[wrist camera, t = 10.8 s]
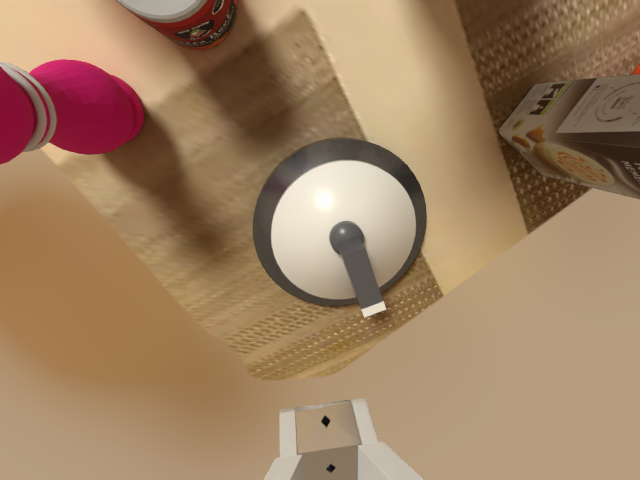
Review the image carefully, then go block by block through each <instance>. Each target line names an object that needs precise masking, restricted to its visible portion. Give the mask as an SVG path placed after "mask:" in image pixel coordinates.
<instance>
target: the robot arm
mask: <svg viewBox="0 0 640 480" xmlns="http://www.w3.org/2000/svg"><path fill="white" fill-rule="evenodd" d="M264 480H423V479H422V478H421V477H420V476H419V475H418V474H417V473H416V472H415V471H414V470H412V468H411V467H410V466H409V465H407V464H406V463H405V462H404V461H403V460H402V459H401V458H400V457H399V456H398V455H397V454H396V453H395V452H394V451H393V450H392V449H391V448H390V447H388V446H387V445H386V444H385V443H384V442H379V441H378V437H377V434H376V431H375V428H374V425H373V421H372V419H371V415H370V412H369V409H368V406H367V402H366V400H365V399H364V398H362V399H355V400H345V401H339V402H332V403H326V404H323V405H315V406H305V407H296V408H289V409H281V410H280V457H279V458H275V460H274V462H273V464H272V465H271V467H270V469H269V471H268V473H267V474H266V476H265V478H264Z"/></svg>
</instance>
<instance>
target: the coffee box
mask: <svg viewBox="0 0 640 480" xmlns="http://www.w3.org/2000/svg"><path fill="white" fill-rule="evenodd" d="M499 134H500V135H501V136H502V137H503V138H504V139H505V140H506V141H507V142H508V143H509V144H510V145H511V146H513V147H514V148H515V149H516V150H517V151H518V152H519V153H520V154H521V155H522V156H523V157H524V158H525V159H526V160H527V161H528V162H529V163H530V164H531V165H532V166H533V167H534V168H535V169H536V170H537V171H538V172H539V173H540V174H541V175H543V176H546V177H550V178H554V179H559V180H562V181H567V182H571V183H575V184H579V185H583V186H587V187H591V188H596V189H600V190H604V191H608V192H612V193H616V194H621V195H624V196H628V197H633V198H637V199H640V74H634V75H622V76H612V77H601V78H593V79H592V78H591V79H582V80H571V81H560V82H550V83H539V84H535V85H534V86H533V87H532V89H531V90H530V91H529V92H528V94H527V95H526V96H525V97H524V99H523V100H522V101H521V102H520V104H519V105H518V106H517V107H516V109H515V110H514V111H513V112H512V114H511V115H510V116H509V117H508V119H507V120H506V121H505V122H504V124H503V125H502V126H501V127H500V129H499Z"/></svg>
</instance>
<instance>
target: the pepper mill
mask: <svg viewBox="0 0 640 480" xmlns="http://www.w3.org/2000/svg"><path fill="white" fill-rule="evenodd" d="M143 122H144V112H143V107H142V104H141V101H140V99H139V97H138V96H137V94H136V93H135V91H134V90H133V89H132V88H131V87H130V86H129V85H128V84H127V83H126V82H124V81H123V80H121V79H119V78H118V77H115V76H113V75H110V74H108V73H107V72H105V71H104V70H102V69H100V68H98V67H96V66H94V65H92V64H89V63H86V62H82V61H77V60H64V59H62V60H54V61H50V62H47V63H44V64H42V65H40V66H38V67H37V68H35V69H33V70H32V71H31V72H30V73H29V74H28V73H27V72H26V71H24V70H22V69H21V68H19V67H17V66H14V65H12V64H9V63H5V62H2V61H0V164H3V163H6V162H9V161H10V160H11V159H13V158H15V157H16V156H17V155H19V154H20V153H21V152H27V151H33V150H36V149H39V148H41V147H43V146H44V145H45V144H47V143H48V142H49V143H52V144H53V145H55V146H57V147H59V148H61V149H64V150H67V151H70V152H75V153H79V154H88V155H89V154H102V153H107V152H111V151H113V150H115V149H117V148H118V147H120V146H121V145H122V144H123V143H126V142H129V141H131V140H132V139H134V138H135V137H136V136H137V135H138V133H139V132H140V130H141V128H142V126H143Z"/></svg>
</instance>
